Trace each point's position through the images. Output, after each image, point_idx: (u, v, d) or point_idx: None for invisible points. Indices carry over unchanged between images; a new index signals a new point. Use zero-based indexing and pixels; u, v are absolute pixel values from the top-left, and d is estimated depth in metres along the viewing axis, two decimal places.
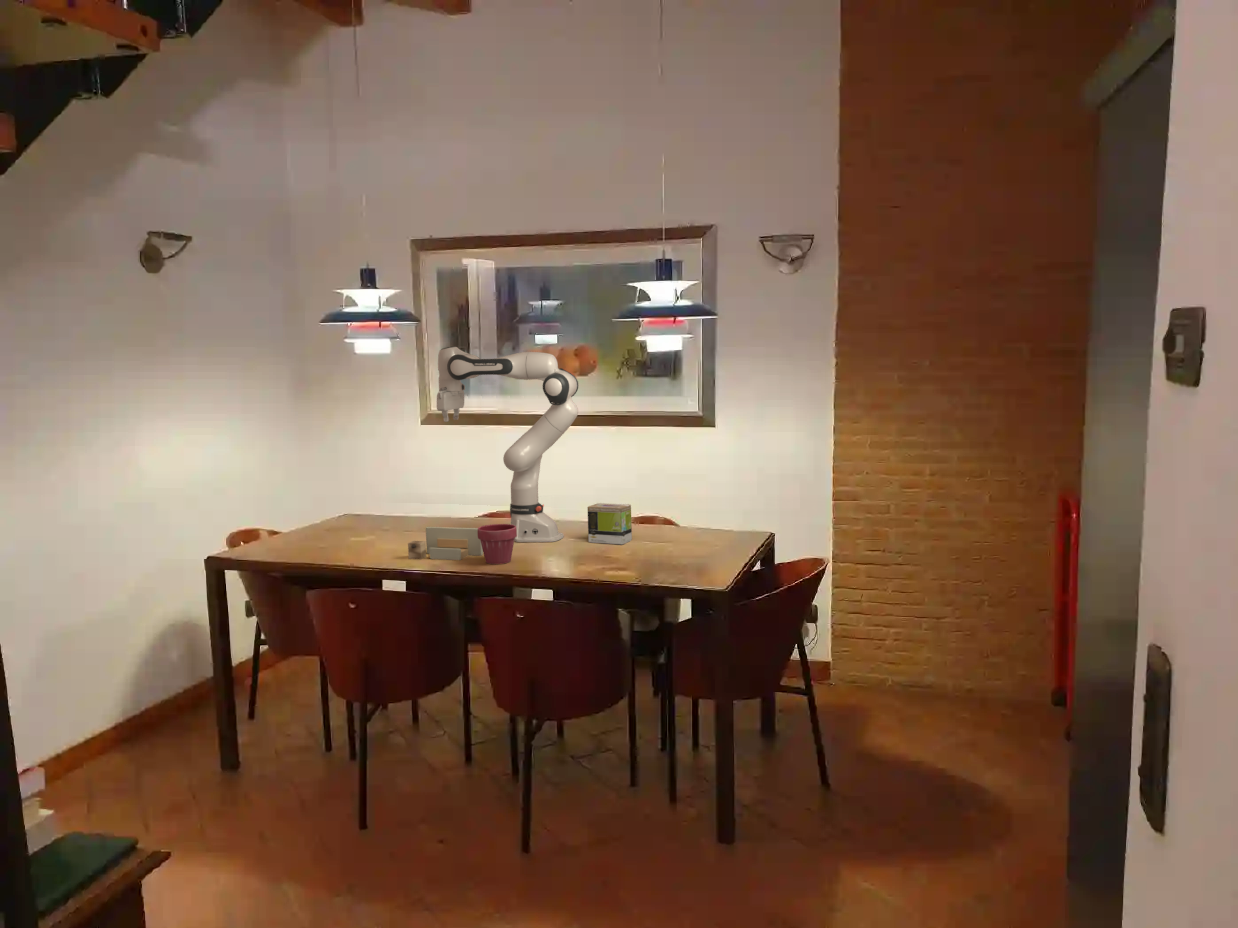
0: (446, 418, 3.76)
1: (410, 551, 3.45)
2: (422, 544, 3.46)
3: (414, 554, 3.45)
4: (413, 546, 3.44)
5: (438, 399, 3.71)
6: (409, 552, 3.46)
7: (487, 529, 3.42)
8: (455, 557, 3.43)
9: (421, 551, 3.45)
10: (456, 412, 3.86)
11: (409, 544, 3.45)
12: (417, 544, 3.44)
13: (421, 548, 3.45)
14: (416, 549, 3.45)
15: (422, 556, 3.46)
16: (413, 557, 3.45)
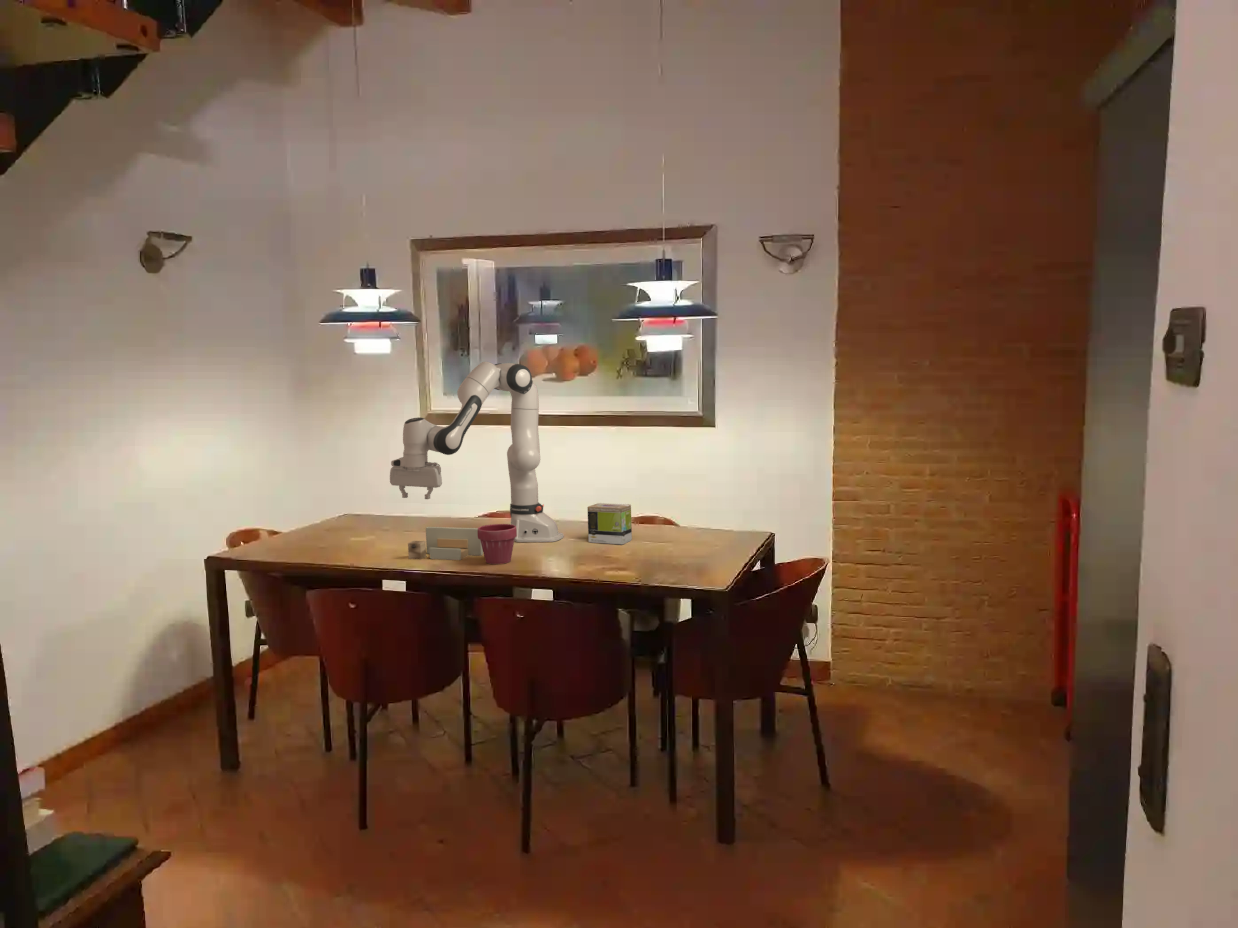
0: (429, 495, 3.46)
1: (410, 551, 3.45)
2: (422, 544, 3.46)
3: (414, 554, 3.45)
4: (413, 546, 3.44)
5: (438, 475, 3.42)
6: (409, 552, 3.46)
7: (487, 529, 3.42)
8: (455, 557, 3.43)
9: (421, 551, 3.45)
10: (403, 489, 3.49)
11: (409, 544, 3.45)
12: (417, 544, 3.44)
13: (421, 548, 3.45)
14: (416, 549, 3.45)
15: (422, 556, 3.46)
16: (413, 557, 3.45)
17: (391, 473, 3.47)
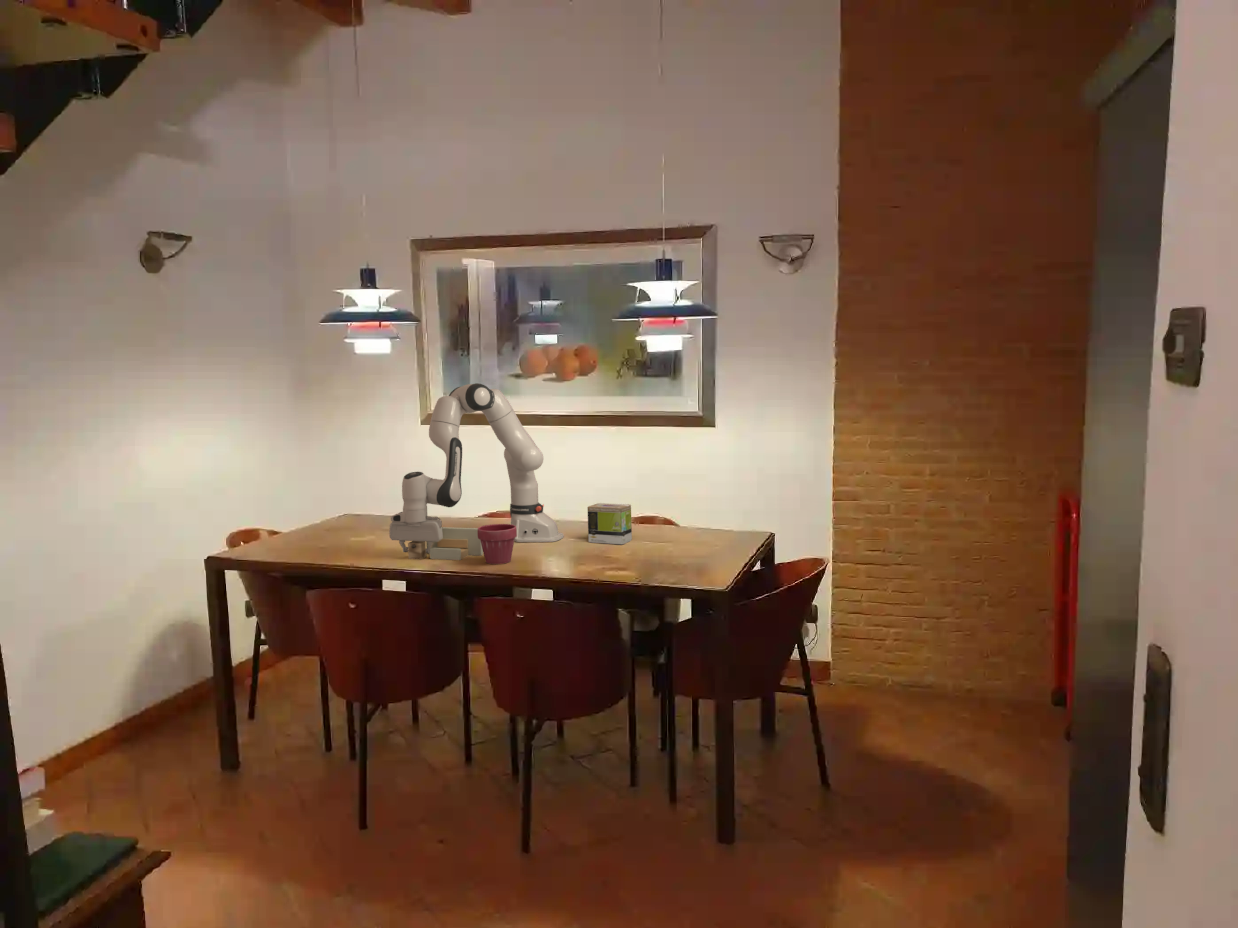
0: None
1: (410, 551, 3.45)
2: (422, 544, 3.46)
3: (414, 554, 3.45)
4: (413, 546, 3.44)
5: (439, 529, 3.43)
6: (409, 552, 3.46)
7: (487, 529, 3.42)
8: (455, 557, 3.43)
9: (421, 551, 3.45)
10: (403, 544, 3.48)
11: (409, 544, 3.45)
12: (417, 544, 3.44)
13: (421, 548, 3.45)
14: (416, 549, 3.45)
15: (422, 556, 3.46)
16: (413, 557, 3.45)
17: (391, 528, 3.46)
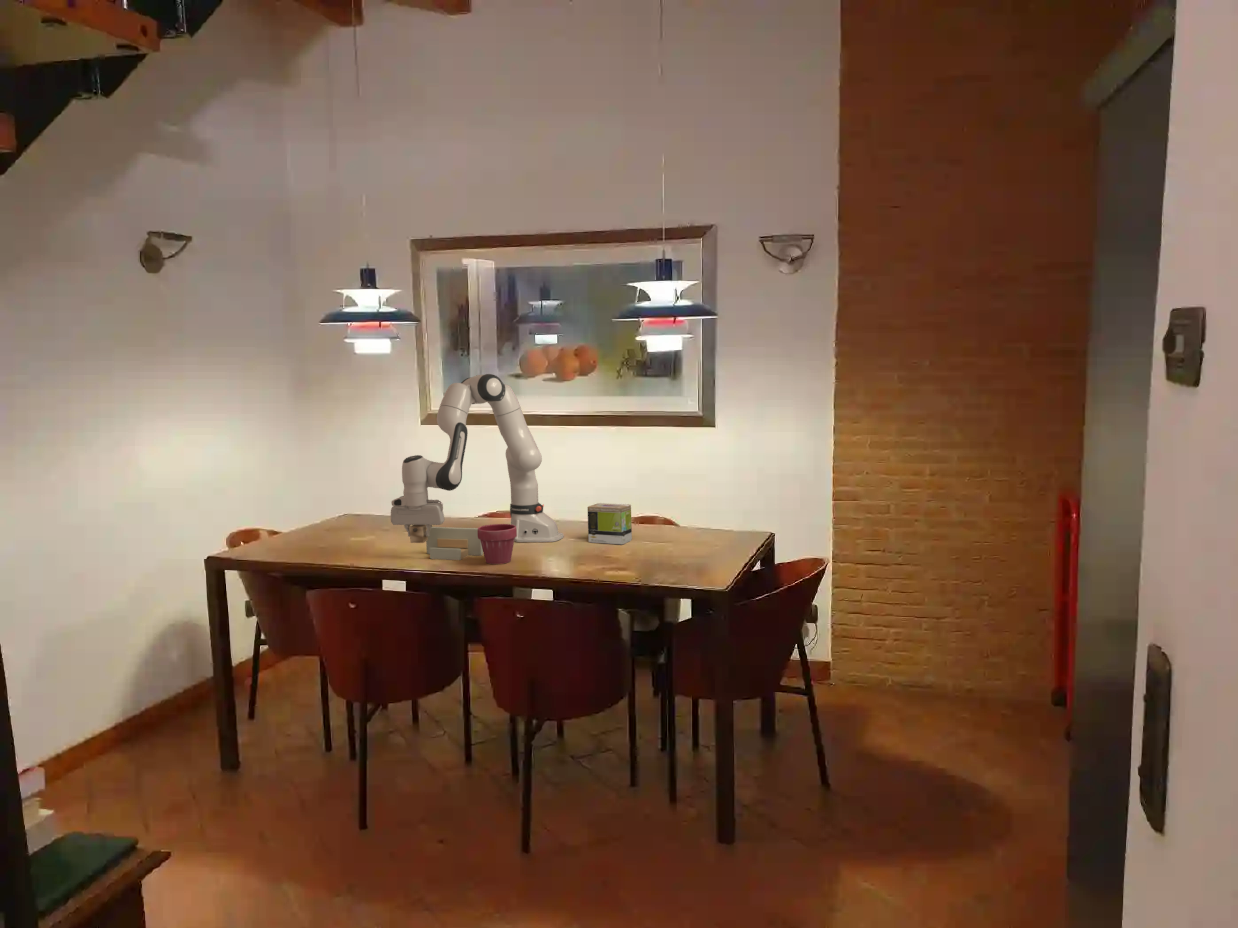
0: (429, 532, 3.46)
1: (411, 534, 3.45)
2: (423, 527, 3.45)
3: (415, 537, 3.44)
4: (415, 530, 3.43)
5: (440, 512, 3.42)
6: (411, 536, 3.45)
7: (487, 529, 3.42)
8: (455, 557, 3.43)
9: (423, 534, 3.45)
10: (408, 528, 3.47)
11: (410, 528, 3.44)
12: (419, 527, 3.44)
13: (422, 531, 3.44)
14: (418, 533, 3.44)
15: (424, 539, 3.45)
16: (415, 541, 3.45)
17: (392, 513, 3.45)
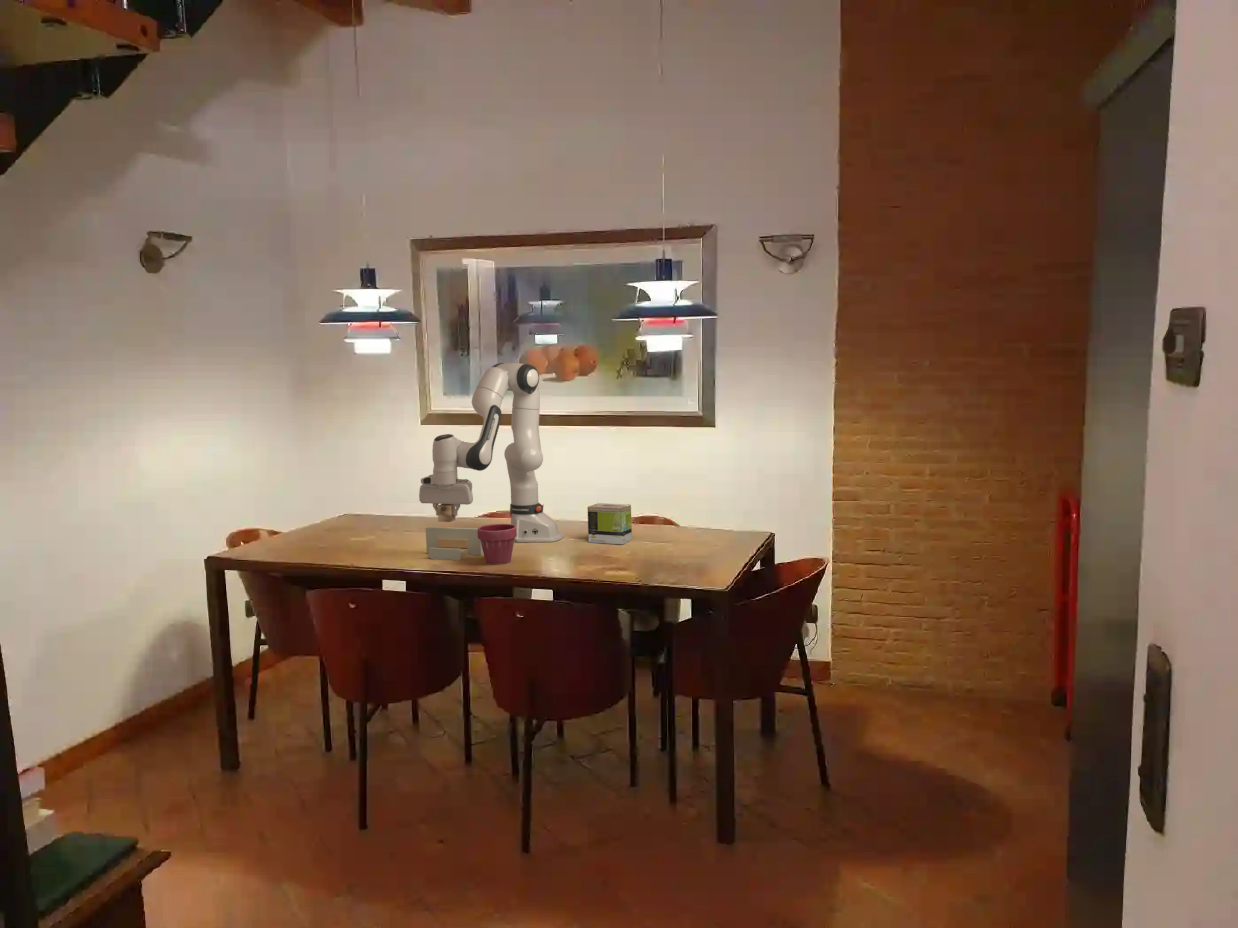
0: (457, 512, 3.44)
1: (439, 513, 3.43)
2: (452, 507, 3.44)
3: (443, 516, 3.43)
4: (443, 508, 3.42)
5: (469, 491, 3.41)
6: (439, 515, 3.43)
7: (487, 529, 3.42)
8: (455, 557, 3.43)
9: (451, 513, 3.43)
10: (436, 507, 3.46)
11: (439, 506, 3.43)
12: (447, 506, 3.42)
13: (451, 510, 3.43)
14: (446, 511, 3.42)
15: (452, 519, 3.44)
16: (443, 520, 3.43)
17: (421, 491, 3.44)
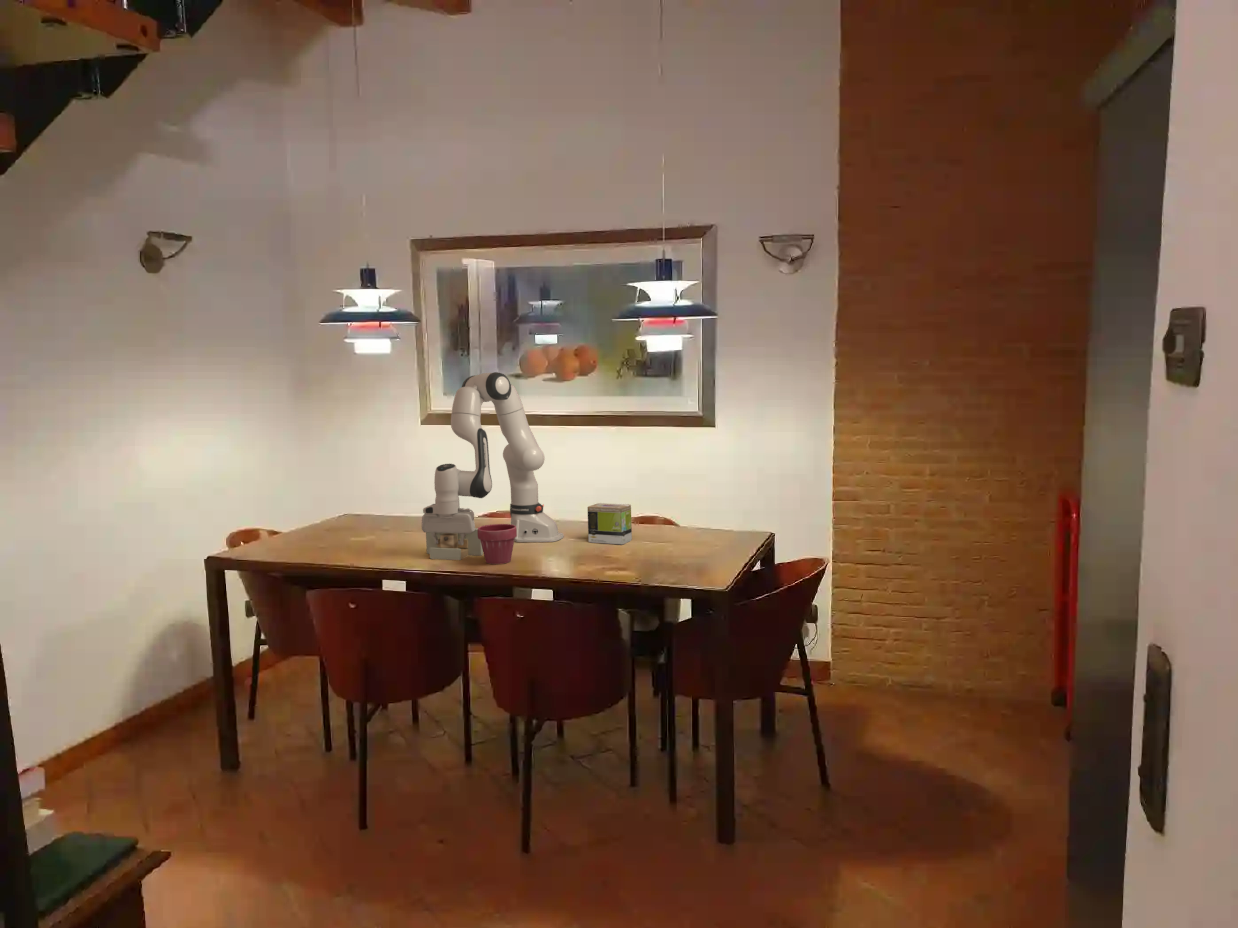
0: (463, 541, 3.46)
1: (442, 543, 3.46)
2: (454, 536, 3.46)
3: (446, 546, 3.45)
4: (445, 538, 3.44)
5: (471, 521, 3.43)
6: (441, 544, 3.46)
7: (487, 529, 3.42)
8: (455, 557, 3.43)
9: (454, 543, 3.46)
10: (435, 536, 3.48)
11: (441, 536, 3.45)
12: (449, 536, 3.44)
13: (453, 540, 3.45)
14: (448, 541, 3.45)
15: (454, 548, 3.46)
16: None
17: (423, 520, 3.46)
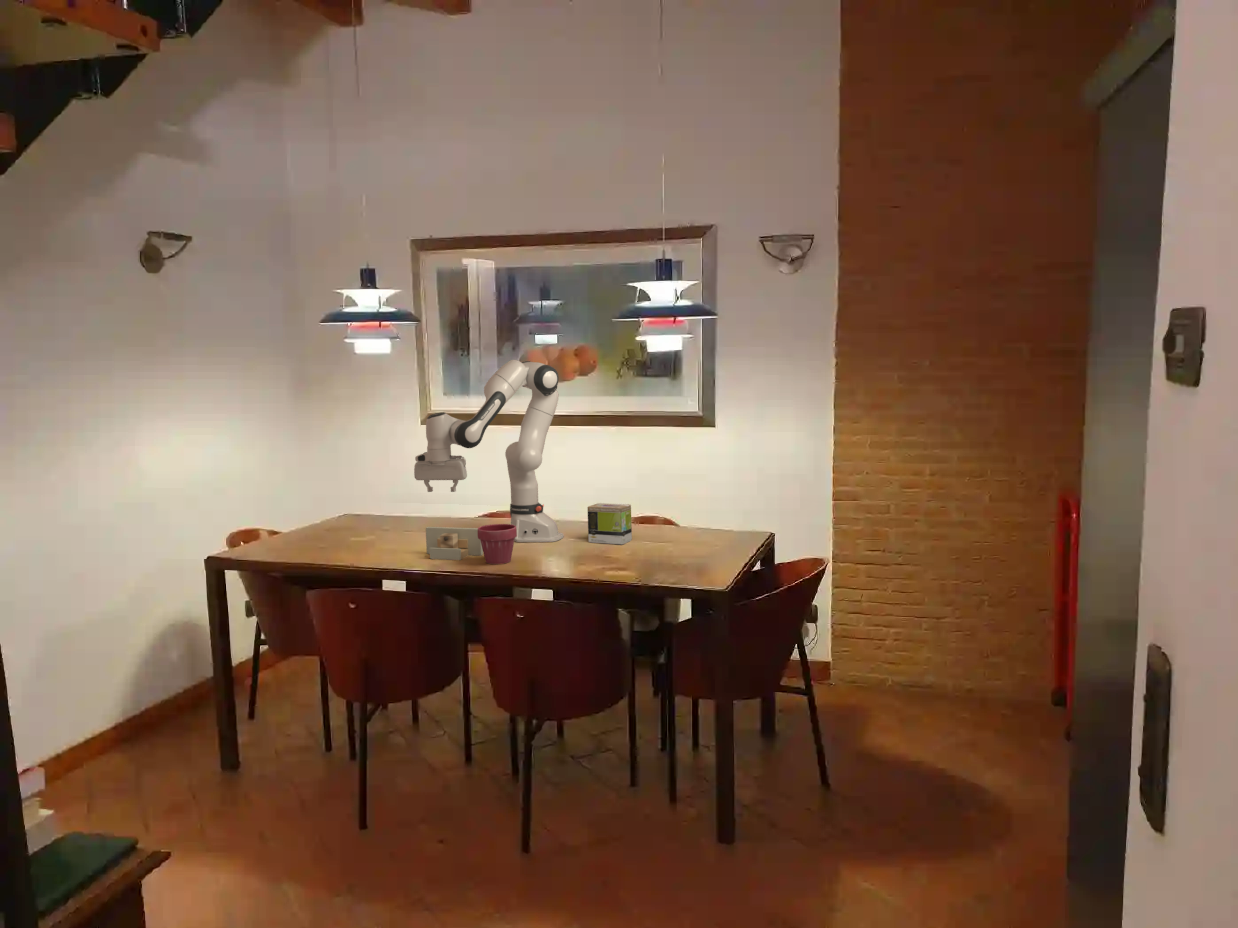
0: (455, 488, 3.54)
1: (442, 543, 3.46)
2: (454, 536, 3.46)
3: (446, 546, 3.45)
4: (445, 538, 3.44)
5: (463, 467, 3.50)
6: (441, 544, 3.46)
7: (487, 529, 3.42)
8: (455, 557, 3.43)
9: (454, 543, 3.46)
10: (428, 484, 3.55)
11: (441, 536, 3.45)
12: (449, 536, 3.44)
13: (453, 540, 3.45)
14: (448, 541, 3.45)
15: (454, 548, 3.46)
16: None
17: (415, 468, 3.53)
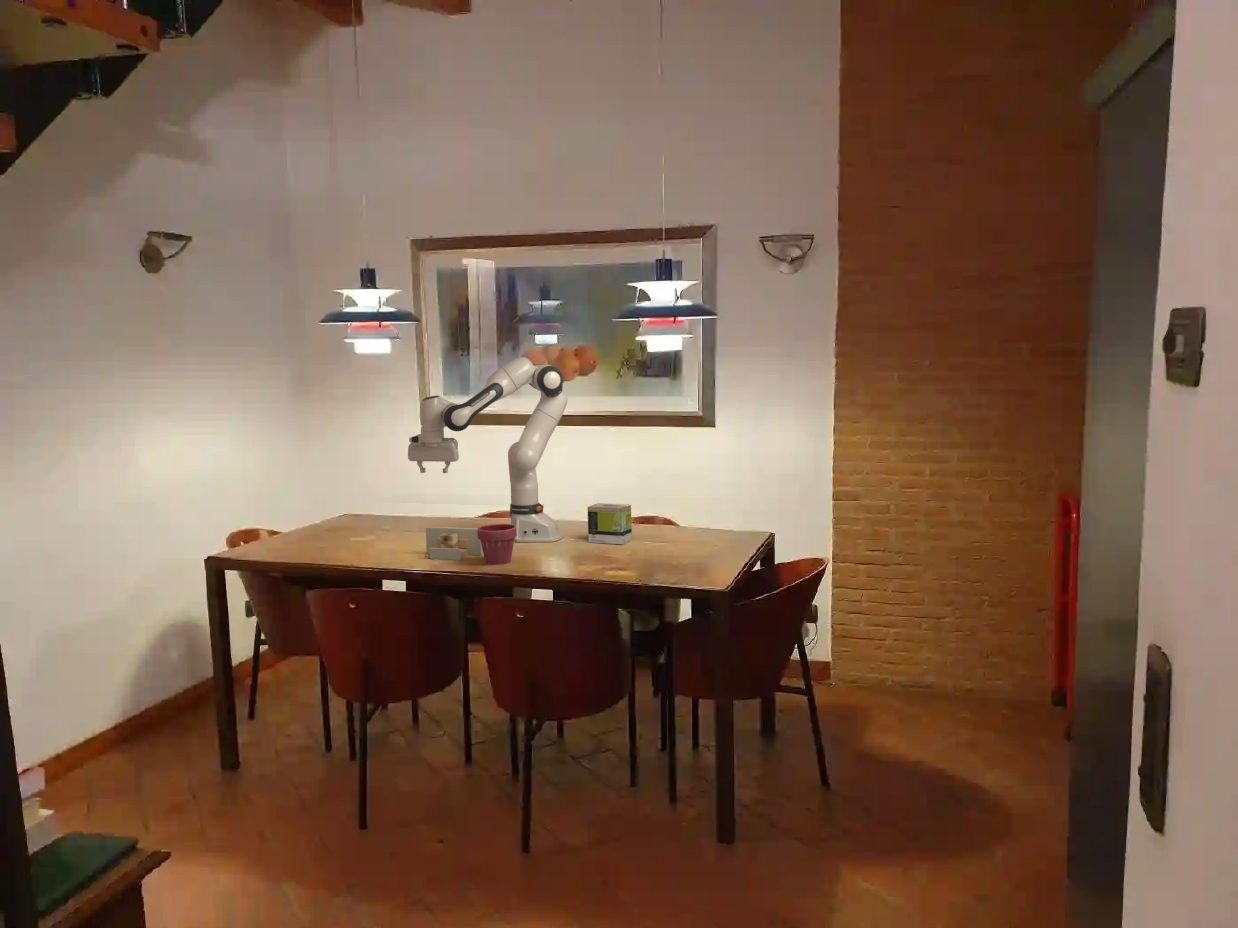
0: (447, 469, 3.63)
1: (442, 543, 3.46)
2: (454, 536, 3.46)
3: (446, 546, 3.45)
4: (445, 538, 3.44)
5: (455, 449, 3.60)
6: (441, 544, 3.46)
7: (487, 529, 3.42)
8: (455, 557, 3.43)
9: (454, 543, 3.46)
10: (421, 465, 3.65)
11: (441, 536, 3.45)
12: (449, 536, 3.44)
13: (453, 540, 3.45)
14: (448, 541, 3.45)
15: (454, 548, 3.46)
16: None
17: (409, 449, 3.63)
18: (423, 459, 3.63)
